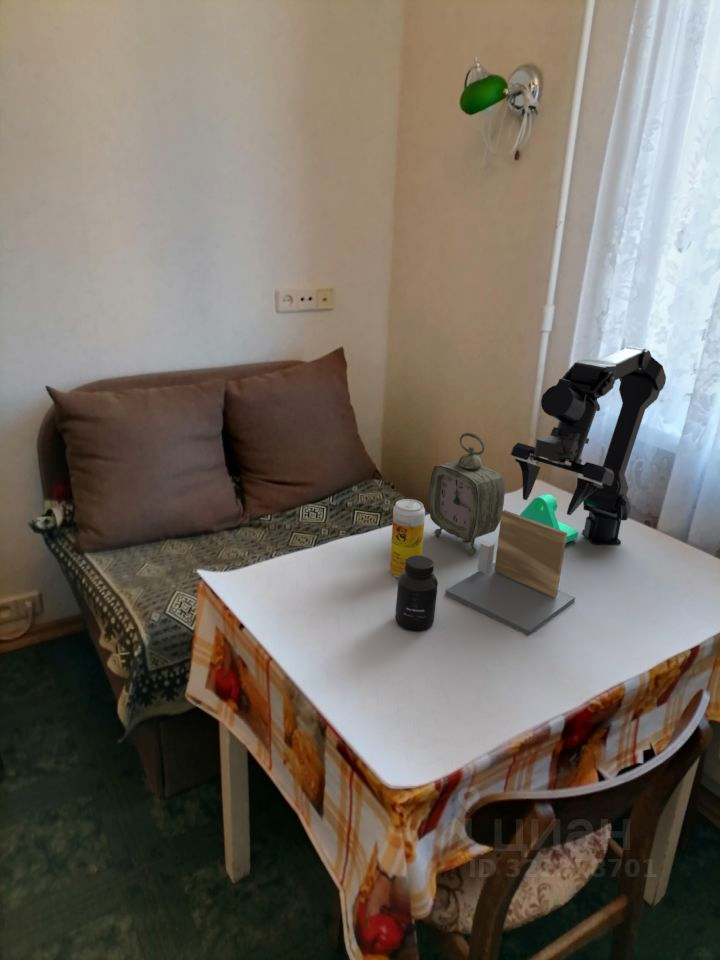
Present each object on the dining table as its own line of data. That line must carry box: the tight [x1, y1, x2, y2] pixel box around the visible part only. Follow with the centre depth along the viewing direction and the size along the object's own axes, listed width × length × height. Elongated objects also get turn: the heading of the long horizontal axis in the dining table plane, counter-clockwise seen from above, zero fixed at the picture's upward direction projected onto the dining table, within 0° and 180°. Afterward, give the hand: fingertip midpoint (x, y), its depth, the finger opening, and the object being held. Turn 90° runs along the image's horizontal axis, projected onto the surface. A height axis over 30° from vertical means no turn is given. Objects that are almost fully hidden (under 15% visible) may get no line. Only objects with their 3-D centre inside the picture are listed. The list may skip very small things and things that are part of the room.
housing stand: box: [445, 540, 576, 637], centre depth 124 cm, size 16×18×7 cm
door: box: [494, 509, 567, 597], centre depth 126 cm, size 1×13×13 cm, turn 46°
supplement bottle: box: [395, 555, 439, 633], centre depth 115 cm, size 7×7×12 cm
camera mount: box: [518, 493, 579, 543], centre depth 149 cm, size 12×8×10 cm, turn 36°
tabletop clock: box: [428, 432, 506, 556], centre depth 142 cm, size 14×9×25 cm, turn 36°
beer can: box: [389, 498, 426, 579], centre depth 130 cm, size 6×6×15 cm
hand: (546, 507), depth 125 cm, fingers open, 9 cm apart
